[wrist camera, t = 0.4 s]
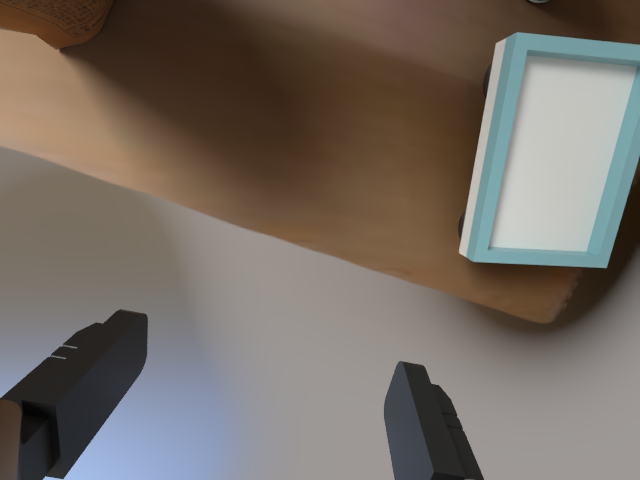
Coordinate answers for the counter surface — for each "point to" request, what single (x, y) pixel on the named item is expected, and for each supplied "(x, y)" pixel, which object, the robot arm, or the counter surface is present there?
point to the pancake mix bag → (56, 19)
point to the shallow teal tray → (553, 152)
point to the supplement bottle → (538, 1)
